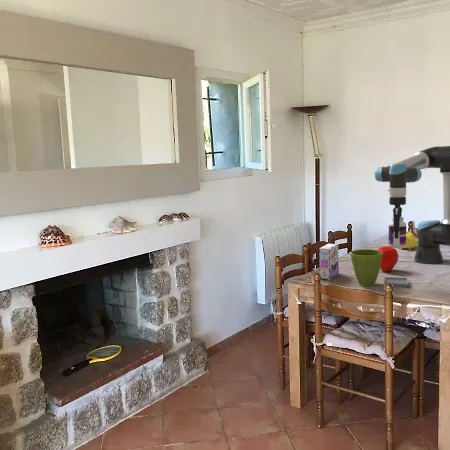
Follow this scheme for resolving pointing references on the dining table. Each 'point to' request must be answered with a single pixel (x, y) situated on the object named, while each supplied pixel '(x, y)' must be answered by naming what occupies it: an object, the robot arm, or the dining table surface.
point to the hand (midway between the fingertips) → (397, 243)
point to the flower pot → (366, 265)
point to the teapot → (410, 241)
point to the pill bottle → (402, 234)
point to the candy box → (328, 261)
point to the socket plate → (396, 281)
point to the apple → (388, 258)
